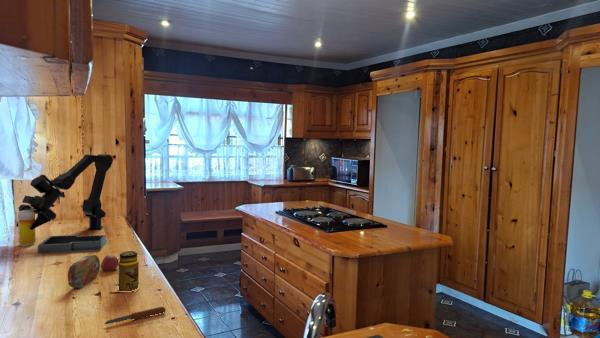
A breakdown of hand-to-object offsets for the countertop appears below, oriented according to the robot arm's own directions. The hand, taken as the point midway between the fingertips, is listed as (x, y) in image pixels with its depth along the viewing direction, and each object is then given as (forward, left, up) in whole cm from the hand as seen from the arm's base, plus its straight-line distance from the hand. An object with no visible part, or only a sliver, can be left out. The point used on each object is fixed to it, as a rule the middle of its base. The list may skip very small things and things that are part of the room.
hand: (23, 227), depth 168 cm
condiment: (+59, +49, -8) cm, 77 cm away
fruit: (+39, +42, -8) cm, 58 cm away
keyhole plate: (+7, +22, -8) cm, 24 cm away
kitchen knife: (+82, +54, -8) cm, 99 cm away
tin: (+51, +35, -8) cm, 62 cm away
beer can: (-1, +1, -8) cm, 8 cm away
